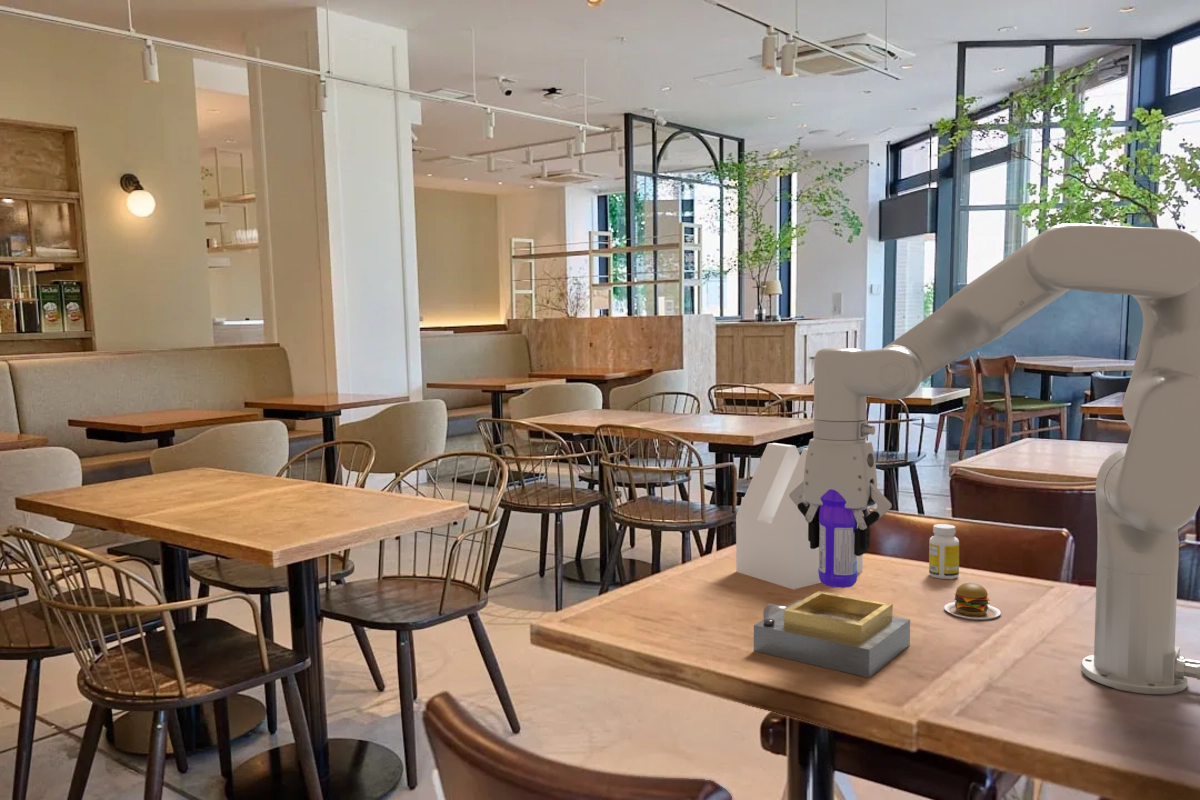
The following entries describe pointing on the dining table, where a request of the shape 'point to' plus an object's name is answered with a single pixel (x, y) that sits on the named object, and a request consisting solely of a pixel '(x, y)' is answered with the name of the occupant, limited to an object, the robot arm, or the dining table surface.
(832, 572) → the bottle
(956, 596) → the hamburger
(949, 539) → the supplement bottle
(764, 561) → the white notched block
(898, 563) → the dining table surface
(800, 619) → the grey brass fixture
